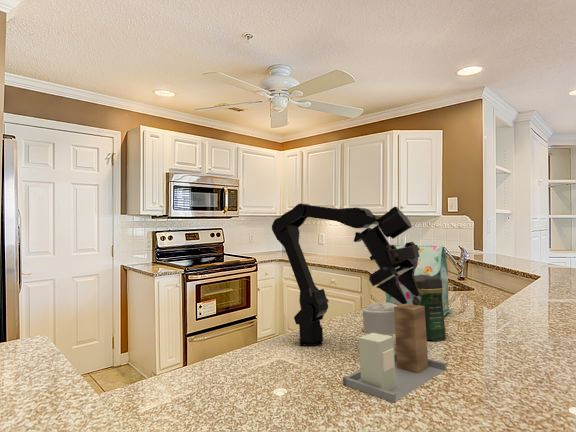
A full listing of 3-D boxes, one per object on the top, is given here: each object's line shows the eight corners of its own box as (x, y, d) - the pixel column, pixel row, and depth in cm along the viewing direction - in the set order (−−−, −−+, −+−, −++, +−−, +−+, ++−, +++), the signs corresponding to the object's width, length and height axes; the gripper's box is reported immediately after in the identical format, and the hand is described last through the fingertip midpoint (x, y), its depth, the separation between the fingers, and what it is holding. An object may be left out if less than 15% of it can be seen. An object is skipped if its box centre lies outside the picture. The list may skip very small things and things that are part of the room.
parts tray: (343, 387, 75) (342, 377, 76) (399, 360, 90) (398, 351, 90) (393, 405, 67) (393, 394, 67) (446, 372, 81) (446, 363, 81)
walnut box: (396, 367, 84) (392, 306, 84) (407, 362, 87) (403, 303, 88) (417, 373, 80) (413, 309, 80) (428, 367, 83) (424, 306, 84)
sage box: (361, 387, 74) (358, 337, 74) (375, 379, 77) (372, 332, 78) (383, 394, 70) (380, 342, 71) (397, 386, 73) (394, 337, 74)
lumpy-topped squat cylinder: (409, 332, 115) (407, 304, 116) (374, 337, 111) (372, 308, 112) (390, 324, 125) (388, 299, 126) (357, 329, 121) (355, 303, 121)
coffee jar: (451, 340, 105) (446, 276, 106) (425, 342, 103) (421, 277, 104) (432, 331, 114) (428, 272, 115) (409, 333, 113) (405, 274, 114)
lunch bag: (382, 315, 140) (378, 245, 142) (395, 307, 154) (392, 244, 155) (444, 320, 127) (439, 244, 129) (453, 311, 141) (449, 242, 142)
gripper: (389, 235, 86) (427, 293, 81) (415, 229, 100) (449, 278, 95) (354, 258, 92) (388, 314, 87) (384, 249, 106) (414, 297, 101)
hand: (412, 299), depth 92 cm, fingers open, 9 cm apart
